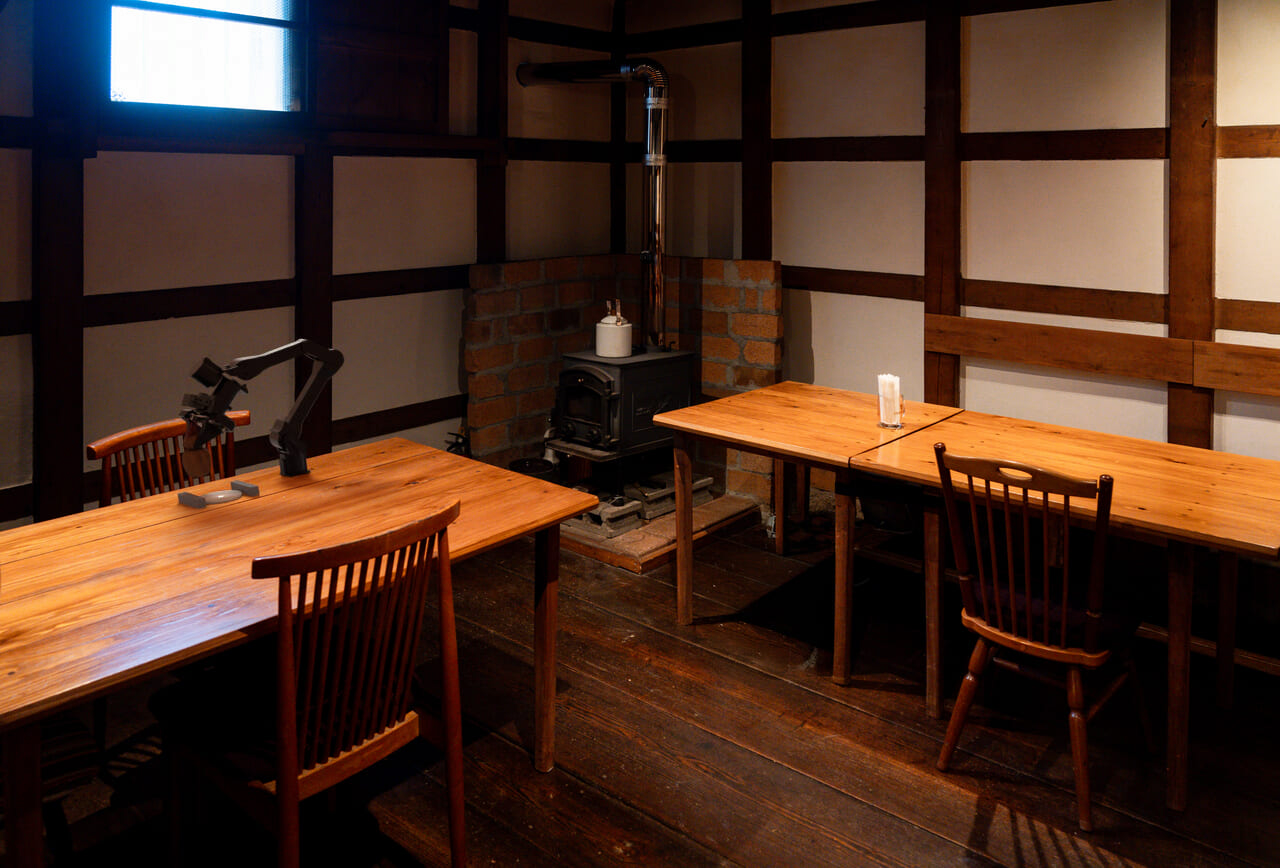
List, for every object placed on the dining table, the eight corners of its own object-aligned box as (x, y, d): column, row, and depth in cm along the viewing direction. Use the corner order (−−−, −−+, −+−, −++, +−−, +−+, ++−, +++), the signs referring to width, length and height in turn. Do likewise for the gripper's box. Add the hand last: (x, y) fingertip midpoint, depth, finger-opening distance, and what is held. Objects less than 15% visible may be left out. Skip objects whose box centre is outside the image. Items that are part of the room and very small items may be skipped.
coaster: (230, 491, 263) (230, 488, 263) (249, 496, 256) (248, 493, 255) (189, 500, 255) (188, 497, 255) (207, 506, 248) (207, 503, 248)
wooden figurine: (206, 471, 264) (197, 417, 261) (216, 474, 261) (208, 419, 258) (181, 477, 259) (172, 422, 256) (191, 480, 256) (182, 423, 253)
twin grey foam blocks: (238, 488, 265) (237, 480, 265) (259, 494, 257) (258, 485, 257) (178, 502, 254) (177, 493, 253) (198, 509, 246) (197, 499, 245)
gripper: (179, 379, 264) (146, 428, 257) (218, 382, 253) (184, 432, 246) (211, 403, 271) (179, 450, 265) (249, 406, 260) (218, 456, 254)
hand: (189, 447), depth 257 cm, fingers closed on wooden figurine, 5 cm apart
